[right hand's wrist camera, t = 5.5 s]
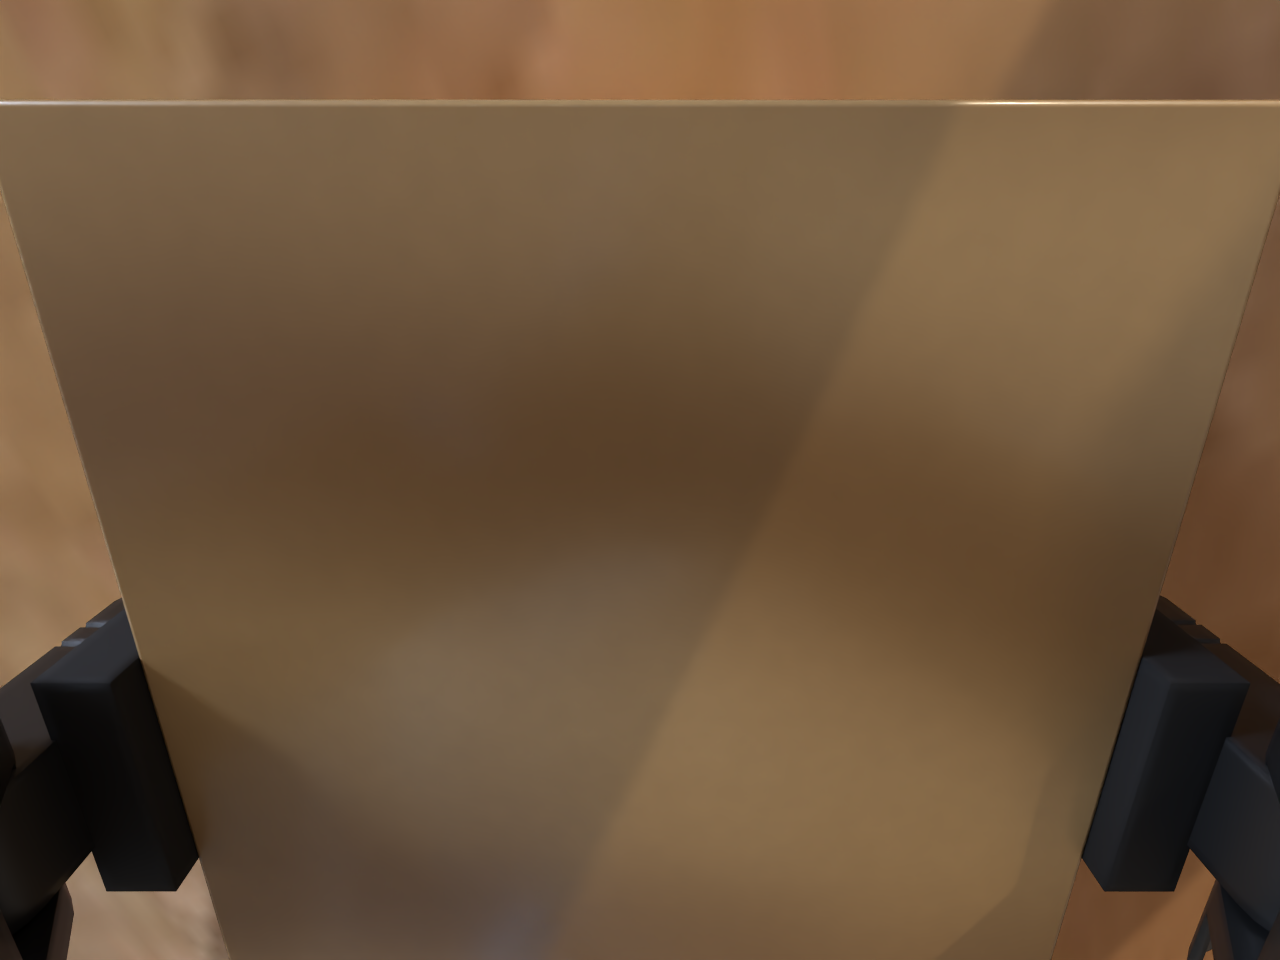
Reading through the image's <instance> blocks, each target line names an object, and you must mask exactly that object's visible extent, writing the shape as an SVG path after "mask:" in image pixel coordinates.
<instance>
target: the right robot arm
mask: <svg viewBox="0 0 1280 960" xmlns="http://www.w3.org/2000/svg"><path fill="white" fill-rule="evenodd" d="M1189 849H1191V850H1192V851H1193V852H1194V854H1195V855H1196V856H1197V857H1198V858H1199V859H1200V861H1201V862H1202V863H1203V864H1204V865H1205V867H1206V868H1207V869H1208V870H1209V871H1210V872H1211V874H1212V875H1213V876H1214V877H1215V878H1216V881H1215V883H1214V886H1213V888H1212V891H1211V893H1210V896H1209V898H1208V901H1207V904H1206V906H1205V909H1204V911H1203V914H1202V916H1201V919H1200V921H1199V924H1198V926H1197V929H1196V931H1195V934H1194V937H1193V939H1192V942H1191V944H1190V947H1189V951H1188V957H1187V960H1203V958H1204V955H1205V953H1206V952H1207V951H1209V950H1211V949H1212V951H1213V957H1214V960H1280V684H1279V683H1278V682H1276V681H1275V680H1274V679H1272V678H1271V677H1270V676H1268V675H1267V674H1266V673H1264V672H1263V671H1262V670H1260V669H1259V668H1258V667H1256V666H1255V665H1254V664H1252V663H1251V662H1250V661H1248V660H1247V659H1246V658H1244V657H1243V656H1242V655H1240V654H1239V653H1238V652H1237V651H1235V650H1234V649H1233V648H1231V647H1230V646H1229V645H1227V644H1221V643H1220V639H1219V638H1218V637H1217V636H1215V635H1214V634H1213V633H1211V632H1210V631H1209V630H1207V629H1206V628H1205V627H1203V626H1202V625H1196V623H1195V620H1194V619H1193V618H1192V617H1190V616H1189V615H1188V614H1186V613H1185V612H1184V611H1182V610H1181V609H1180V608H1178V607H1177V606H1176V605H1174V604H1173V603H1172V602H1170V601H1169V600H1168V599H1166V598H1164V597H1162V596H1159V600H1158V603H1157V606H1156V610H1155V613H1154V616H1153V620H1152V623H1151V626H1150V630H1149V633H1148V636H1147V640H1146V643H1145V647H1144V650H1143V653H1142V657H1141V660H1140V663H1139V667H1138V670H1137V673H1136V677H1135V680H1134V683H1133V687H1132V690H1131V693H1130V697H1129V700H1128V704H1127V707H1126V710H1125V714H1124V717H1123V720H1122V724H1121V727H1120V730H1119V734H1118V737H1117V740H1116V744H1115V747H1114V750H1113V754H1112V757H1111V760H1110V764H1109V767H1108V771H1107V774H1106V777H1105V781H1104V784H1103V787H1102V791H1101V794H1100V797H1099V801H1098V804H1097V807H1096V811H1095V814H1094V817H1093V821H1092V824H1091V828H1090V831H1089V834H1088V838H1087V841H1086V844H1085V848H1084V851H1083V854H1082V859H1083V860H1084V862H1085V863H1086V865H1087V866H1088V868H1089V869H1090V871H1091V872H1092V874H1093V875H1094V877H1095V878H1096V880H1097V881H1098V883H1099V884H1100V886H1101V887H1102V889H1103V890H1104V891H1174V890H1175V888H1176V885H1177V882H1178V879H1179V877H1180V874H1181V871H1182V869H1183V866H1184V863H1185V860H1186V858H1187V855H1188V852H1189ZM91 851H92V853H93V856H94V858H95V861H96V864H97V867H98V869H99V872H100V875H101V877H102V880H103V883H104V886H105V888H106V891H177V889H178V888H179V886H180V885H181V883H182V882H183V880H184V879H185V877H186V876H187V874H188V873H189V871H190V870H191V868H192V867H193V866H194V864H195V863H196V861H197V860H198V858H199V856H198V852H197V849H196V846H195V842H194V839H193V836H192V832H191V829H190V826H189V822H188V819H187V815H186V812H185V809H184V805H183V802H182V799H181V795H180V792H179V789H178V785H177V782H176V778H175V775H174V772H173V768H172V765H171V762H170V758H169V755H168V752H167V748H166V745H165V742H164V738H163V735H162V731H161V728H160V725H159V721H158V718H157V715H156V711H155V708H154V705H153V701H152V698H151V694H150V691H149V688H148V684H147V681H146V678H145V674H144V671H143V668H142V664H141V661H140V658H139V654H138V651H137V647H136V644H135V641H134V637H133V634H132V631H131V627H130V624H129V621H128V617H127V614H126V611H125V607H124V604H123V600H122V598H120V599H118V600H116V601H114V602H113V603H112V604H110V605H109V606H108V607H107V608H105V609H104V610H103V611H101V612H100V613H99V614H97V615H96V616H95V617H93V618H92V619H91V620H90V621H88V622H87V623H86V627H85V628H79V629H78V630H76V631H75V632H74V633H72V634H71V635H70V636H69V637H67V638H66V639H65V640H63V641H62V645H61V647H54V648H53V649H51V650H50V651H49V652H48V653H46V654H45V655H44V656H42V657H41V658H40V659H38V660H37V661H36V662H34V663H33V664H32V665H31V666H29V667H28V668H27V669H25V670H24V671H23V672H21V673H20V674H19V675H17V676H16V677H15V678H13V679H12V680H11V681H10V682H8V683H7V684H6V685H4V686H3V687H2V688H0V960H66V959H67V953H68V947H69V941H70V935H71V929H72V922H73V916H74V911H73V905H72V899H71V896H70V893H69V891H68V888H67V886H66V883H65V882H66V881H67V880H68V879H69V877H70V876H71V875H72V874H73V873H74V871H75V870H76V869H77V868H78V867H79V866H80V864H81V863H82V862H83V861H84V860H85V858H86V857H87V856H88V855H89V854H90V852H91Z"/></svg>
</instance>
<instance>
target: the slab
mask: <svg viewBox="0 0 1280 960" xmlns="http://www.w3.org/2000/svg"><path fill="white" fill-rule="evenodd" d="M0 191H1V194H2V197H3V201H4V204H5V207H6V211H7V214H8V217H9V221H10V224H11V228H12V231H13V234H14V238H15V241H16V244H17V248H18V251H19V254H20V258H21V261H22V265H23V268H24V271H25V275H26V278H27V281H28V285H29V288H30V291H31V295H32V298H33V301H34V305H35V308H36V312H37V315H38V318H39V322H40V325H41V328H42V332H43V335H44V338H45V342H46V345H47V348H48V352H49V355H50V359H51V362H52V365H53V369H54V372H55V375H56V379H57V382H58V385H59V389H60V392H61V396H62V399H63V402H64V406H65V409H66V412H67V416H68V419H69V422H70V426H71V429H72V432H73V436H74V439H75V443H76V446H77V449H78V453H79V456H80V459H81V463H82V466H83V469H84V473H85V476H86V479H87V483H88V486H89V490H90V493H91V496H92V500H93V503H94V506H95V510H96V513H97V516H98V520H99V523H100V527H101V530H102V533H103V537H104V540H105V543H106V547H107V550H108V553H109V557H110V560H111V563H112V567H113V570H114V574H115V577H116V580H117V584H118V587H119V590H120V594H121V597H122V600H123V604H124V607H125V611H126V614H127V617H128V621H129V624H130V627H131V631H132V634H133V637H134V641H135V644H136V647H137V651H138V654H139V658H140V661H141V664H142V668H143V671H144V674H145V678H146V681H147V684H148V688H149V691H150V694H151V698H152V701H153V705H154V708H155V711H156V715H157V718H158V721H159V725H160V728H161V731H162V735H163V738H164V742H165V745H166V748H167V752H168V755H169V758H170V762H171V765H172V768H173V772H174V775H175V778H176V782H177V785H178V789H179V792H180V795H181V799H182V802H183V805H184V809H185V812H186V815H187V819H188V822H189V826H190V829H191V832H192V836H193V839H194V842H195V846H196V849H197V852H198V856H199V859H200V862H201V866H202V869H203V873H204V876H205V879H206V883H207V886H208V889H209V893H210V896H211V899H212V903H213V906H214V909H215V913H216V916H217V920H218V923H219V926H220V930H221V933H222V936H223V940H224V943H225V946H226V950H227V953H228V957H229V960H1051V958H1052V955H1053V952H1054V948H1055V945H1056V941H1057V938H1058V935H1059V931H1060V928H1061V925H1062V921H1063V918H1064V915H1065V911H1066V908H1067V905H1068V901H1069V898H1070V895H1071V891H1072V888H1073V884H1074V881H1075V878H1076V874H1077V871H1078V868H1079V864H1080V861H1081V858H1082V854H1083V851H1084V848H1085V844H1086V841H1087V838H1088V834H1089V831H1090V828H1091V824H1092V821H1093V817H1094V814H1095V811H1096V807H1097V804H1098V801H1099V797H1100V794H1101V791H1102V787H1103V784H1104V781H1105V777H1106V774H1107V771H1108V767H1109V764H1110V760H1111V757H1112V754H1113V750H1114V747H1115V744H1116V740H1117V737H1118V734H1119V730H1120V727H1121V724H1122V720H1123V717H1124V714H1125V710H1126V707H1127V704H1128V700H1129V697H1130V693H1131V690H1132V687H1133V683H1134V680H1135V677H1136V673H1137V670H1138V667H1139V663H1140V660H1141V657H1142V653H1143V650H1144V647H1145V643H1146V640H1147V636H1148V633H1149V630H1150V626H1151V623H1152V620H1153V616H1154V613H1155V610H1156V606H1157V603H1158V600H1159V596H1160V593H1161V590H1162V586H1163V583H1164V580H1165V576H1166V573H1167V569H1168V566H1169V563H1170V559H1171V556H1172V553H1173V549H1174V546H1175V543H1176V539H1177V536H1178V533H1179V529H1180V526H1181V523H1182V519H1183V516H1184V512H1185V509H1186V506H1187V502H1188V499H1189V496H1190V492H1191V489H1192V486H1193V482H1194V479H1195V476H1196V472H1197V469H1198V466H1199V462H1200V459H1201V456H1202V452H1203V449H1204V445H1205V442H1206V439H1207V435H1208V432H1209V429H1210V425H1211V422H1212V419H1213V415H1214V412H1215V409H1216V405H1217V402H1218V399H1219V395H1220V392H1221V388H1222V385H1223V382H1224V378H1225V375H1226V372H1227V368H1228V365H1229V362H1230V358H1231V355H1232V352H1233V348H1234V345H1235V342H1236V338H1237V335H1238V332H1239V328H1240V325H1241V321H1242V318H1243V315H1244V311H1245V308H1246V305H1247V301H1248V298H1249V295H1250V291H1251V288H1252V285H1253V281H1254V278H1255V275H1256V271H1257V268H1258V264H1259V261H1260V258H1261V254H1262V251H1263V248H1264V244H1265V241H1266V238H1267V234H1268V231H1269V228H1270V224H1271V221H1272V218H1273V214H1274V211H1275V208H1276V204H1277V201H1278V197H1279V194H1280V100H0Z"/></svg>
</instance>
